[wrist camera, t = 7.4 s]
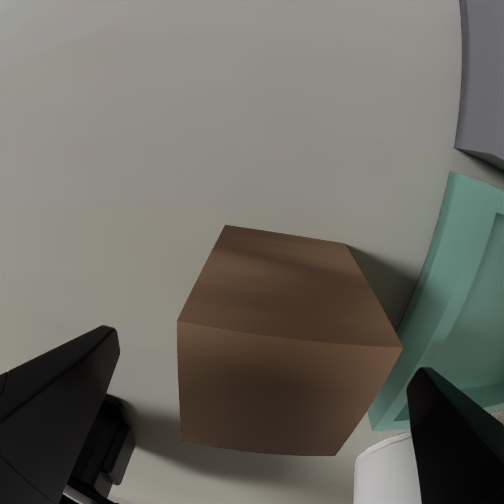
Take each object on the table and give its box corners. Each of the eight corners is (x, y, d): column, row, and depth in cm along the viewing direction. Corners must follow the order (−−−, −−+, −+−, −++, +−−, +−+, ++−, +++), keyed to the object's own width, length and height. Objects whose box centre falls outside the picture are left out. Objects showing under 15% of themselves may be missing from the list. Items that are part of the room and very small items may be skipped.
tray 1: (363, 395, 14) (372, 431, 11) (449, 171, 9) (487, 183, 7) (497, 384, 14) (511, 406, 11) (570, 230, 9) (595, 245, 7)
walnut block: (215, 323, 12) (182, 440, 7) (225, 224, 11) (176, 320, 5) (317, 337, 12) (334, 455, 7) (344, 243, 11) (403, 347, 5)
